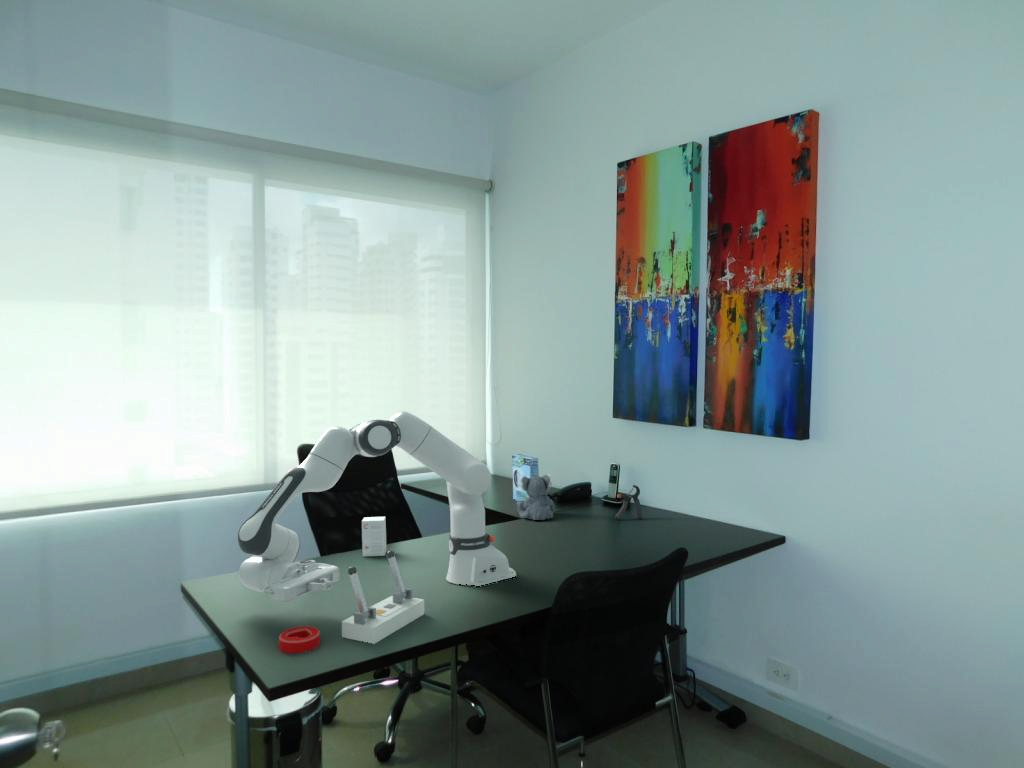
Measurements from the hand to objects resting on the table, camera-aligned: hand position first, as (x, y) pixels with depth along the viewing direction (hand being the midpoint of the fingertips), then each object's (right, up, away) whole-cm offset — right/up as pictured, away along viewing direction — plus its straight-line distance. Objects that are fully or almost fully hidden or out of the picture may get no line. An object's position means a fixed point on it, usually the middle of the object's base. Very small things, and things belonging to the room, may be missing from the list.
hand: (329, 586), depth 174 cm
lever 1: (+10, -5, -5) cm, 13 cm away
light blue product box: (+54, -6, +160) cm, 169 cm away
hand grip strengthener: (+99, -7, +120) cm, 155 cm away
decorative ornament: (-4, -12, -10) cm, 16 cm away
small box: (-2, -9, +70) cm, 70 cm away
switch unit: (+14, -11, +2) cm, 18 cm away
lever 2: (+18, -5, +9) cm, 20 cm away
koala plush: (+59, -7, +126) cm, 139 cm away
